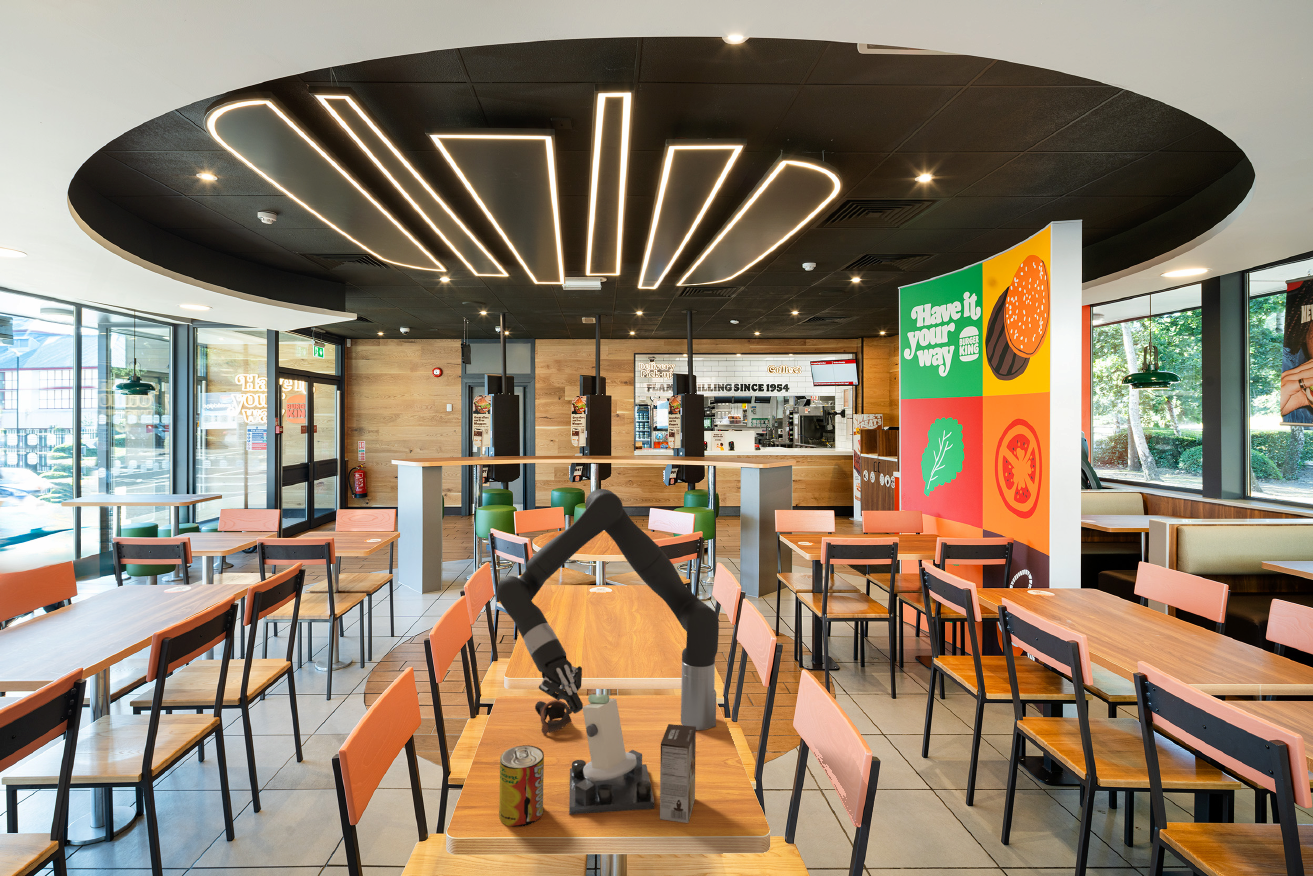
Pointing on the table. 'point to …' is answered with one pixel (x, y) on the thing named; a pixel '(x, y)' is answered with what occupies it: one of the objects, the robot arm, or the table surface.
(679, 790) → the coffee box
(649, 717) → the table surface
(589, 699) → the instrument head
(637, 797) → the base
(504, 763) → the beverage can
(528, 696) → the table surface
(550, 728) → the brown hollow shell
